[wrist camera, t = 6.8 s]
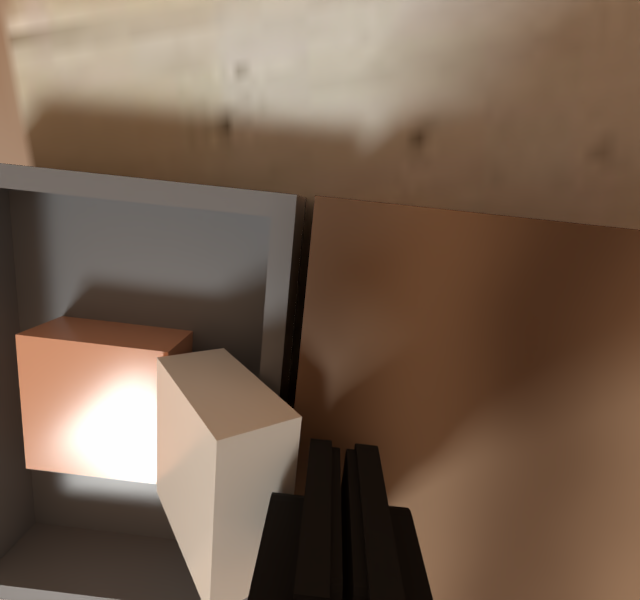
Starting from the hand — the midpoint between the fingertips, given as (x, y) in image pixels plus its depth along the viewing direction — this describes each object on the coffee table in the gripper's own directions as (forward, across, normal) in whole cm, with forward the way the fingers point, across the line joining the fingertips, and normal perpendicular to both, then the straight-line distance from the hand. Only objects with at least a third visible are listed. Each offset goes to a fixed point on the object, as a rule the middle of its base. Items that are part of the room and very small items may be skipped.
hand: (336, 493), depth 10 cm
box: (+5, +7, 0) cm, 8 cm away
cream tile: (+2, +2, 0) cm, 3 cm away
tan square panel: (+5, -5, 0) cm, 7 cm away
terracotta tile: (+2, +7, 0) cm, 8 cm away
